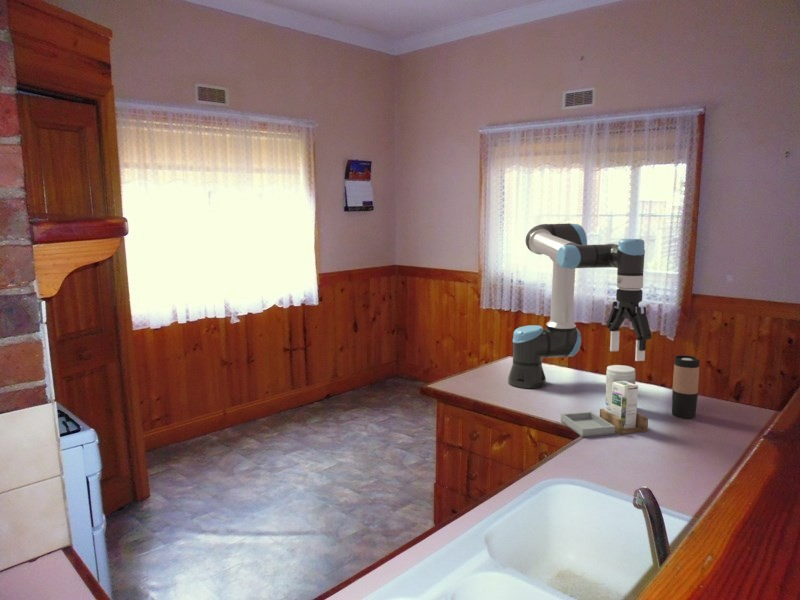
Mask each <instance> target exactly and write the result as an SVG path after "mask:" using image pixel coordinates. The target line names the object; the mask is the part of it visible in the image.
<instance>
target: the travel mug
mask: <svg viewBox="0 0 800 600" xmlns="http://www.w3.org/2000/svg"><path fill="white" fill-rule="evenodd" d="M700 360H701V359H700V358H696V356H692V355H683V354H682V355H675V356H674V365H673V376H672V377H673V378H672V379H673V380H672V391H671V393H672V396H671V397H672V400H671V415H672V416H674V417H675V418H679V419H683V420H691V419H695V418H696V414H697V405H698V395H699V382H700V381H699V379H700V362H701V361H700Z"/></svg>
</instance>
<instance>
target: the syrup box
mask: <svg viewBox="0 0 800 600" xmlns="http://www.w3.org/2000/svg"><path fill="white" fill-rule="evenodd" d="M638 394H639V384H636V383H635V384H632V383H629V382H627V381H617V382H613V383H612V399H611V410H610V413H611V414H613V415H615V416H616V417H618V418H620V419H621V420H623V426H622V429H627V428H636V413H637V410H638V396H639V395H638Z"/></svg>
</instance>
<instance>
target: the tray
mask: <svg viewBox="0 0 800 600" xmlns="http://www.w3.org/2000/svg"><path fill="white" fill-rule="evenodd" d="M560 422H561V423H562V424H564V425H565V426H566V427H568V429H570V430H572V431H573V432H575V434H578V435H579V436H580V437H582V438H587V437H588V438H589V437H596V436H597V435H600V436H608V435H607V434H611V435H615V434H616V432H615V426H614V425H612V424H610V423H609V422H607V421H606V420H604V419H603V418H601V417H600V415H597V414H596V413H594V412H593V411H582V412H569V413H560ZM597 437H598V436H597Z"/></svg>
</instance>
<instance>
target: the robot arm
mask: <svg viewBox="0 0 800 600" xmlns="http://www.w3.org/2000/svg"><path fill="white" fill-rule="evenodd" d="M525 245H526V247H527V249H528V251H529V252H531V253H533V254H536V255H545V256H547V257H549V259H550V260H551V261H552V278H551V279H552V280H551V282H552V283H551V299H550V300H551V301H550V302H551V303H550V305H551V306H550V318H549V321H547V322H546V323H545V328H544V327H543V326H541V325H537V324H535V325H524V326H519V327H518V328H516V329H515V330H514V331H513V337H512V365H511V368H510V370H509V374H508V376H507V384H508V385H511V386H512V387H516V388H520V389H539V388H542V387H545V386H546V384H547V378H546V375H545V371H544V368H543V359H545V358H546V359H549V358H567V357H568V358H570V357H574V356H576V354H578V352H579V351H580V347H581V345H582V335H581V332H580V329H578V328H577V325H576V324H575V322H573V316H574V315H573V313H574V298H575V297H574V296H575V281H576V280H575V279H576V269H588V268H592V269H594V268H595V269H597V268H599V269H600V268H604V269H605V268H616V269H617V270H616V271H617V272H616V273H617V274H616V275H617V276H616V277H617V279H616V287H617V290H616V292H615V293H616V296H615V297H616V299H615V300H616V301H613V302H612V307H611V311H610V314H609V317H608V319H607V323H606V328H607V329H609V331H610V338H609V339H610V345H609V351H610V352H619V351H620V350H619V349H620V327H621V325H622V324H623V322H624V321H625V319H626V320H628V321H629V322H630V323H631V325H632V328H633V330H634V333H635V334H636V337H637V338H636V339H635V356H634V357H635V358H634V359H635V360H634V361H635V362H641V361H642V362H643V361H646V360H645V359H646V349H647V340H650V339H651V340H652V333H651V329H650V325H649V321H648V317H647V307H646V306H640V305H639V304H640V303H641V302H643V290H642V288H644V272H645V253H646V250H645V241H644V239H642V238H620V239H619V240H618V244H616V243H606V244H605V243H604V244H588V238H587V233H586V231H585V229H584V227H583V226H582V225H580V224H578V223H570V222H569V223H542V224H538V225H536V226H534V227H532V228H531V229H529V231H528V232H527V234H526V236H525Z"/></svg>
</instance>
